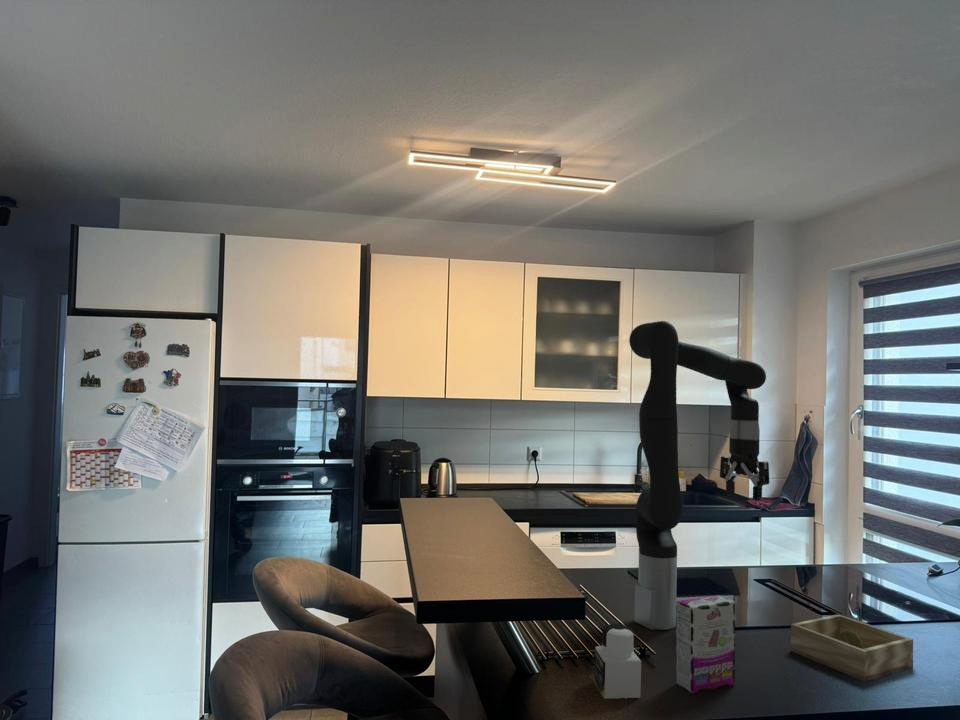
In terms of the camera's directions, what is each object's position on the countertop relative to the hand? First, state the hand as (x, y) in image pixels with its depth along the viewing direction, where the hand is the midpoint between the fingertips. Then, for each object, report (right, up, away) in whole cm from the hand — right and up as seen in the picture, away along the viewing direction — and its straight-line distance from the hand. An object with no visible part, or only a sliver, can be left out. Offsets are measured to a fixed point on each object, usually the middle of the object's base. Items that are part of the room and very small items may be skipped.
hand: (743, 497), depth 176 cm
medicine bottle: (-44, -27, -50) cm, 72 cm away
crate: (+11, -29, -31) cm, 44 cm away
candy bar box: (-26, -28, -46) cm, 60 cm away
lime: (+11, -28, -31) cm, 43 cm away
